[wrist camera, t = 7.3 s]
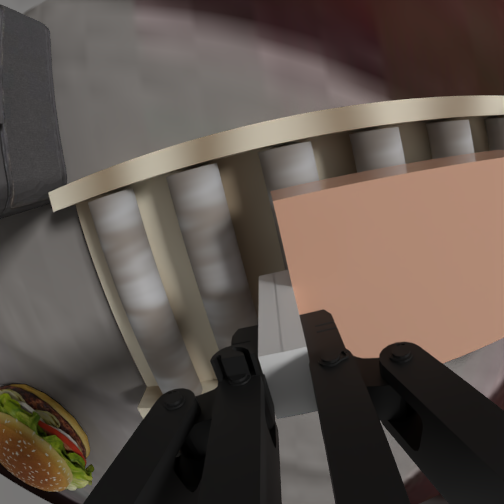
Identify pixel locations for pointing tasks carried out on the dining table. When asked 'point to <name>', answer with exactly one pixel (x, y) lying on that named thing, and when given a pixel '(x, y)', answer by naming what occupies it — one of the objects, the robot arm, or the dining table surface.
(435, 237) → the slab
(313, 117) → the roller bed
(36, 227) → the dining table surface
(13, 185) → the camera
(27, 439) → the food
